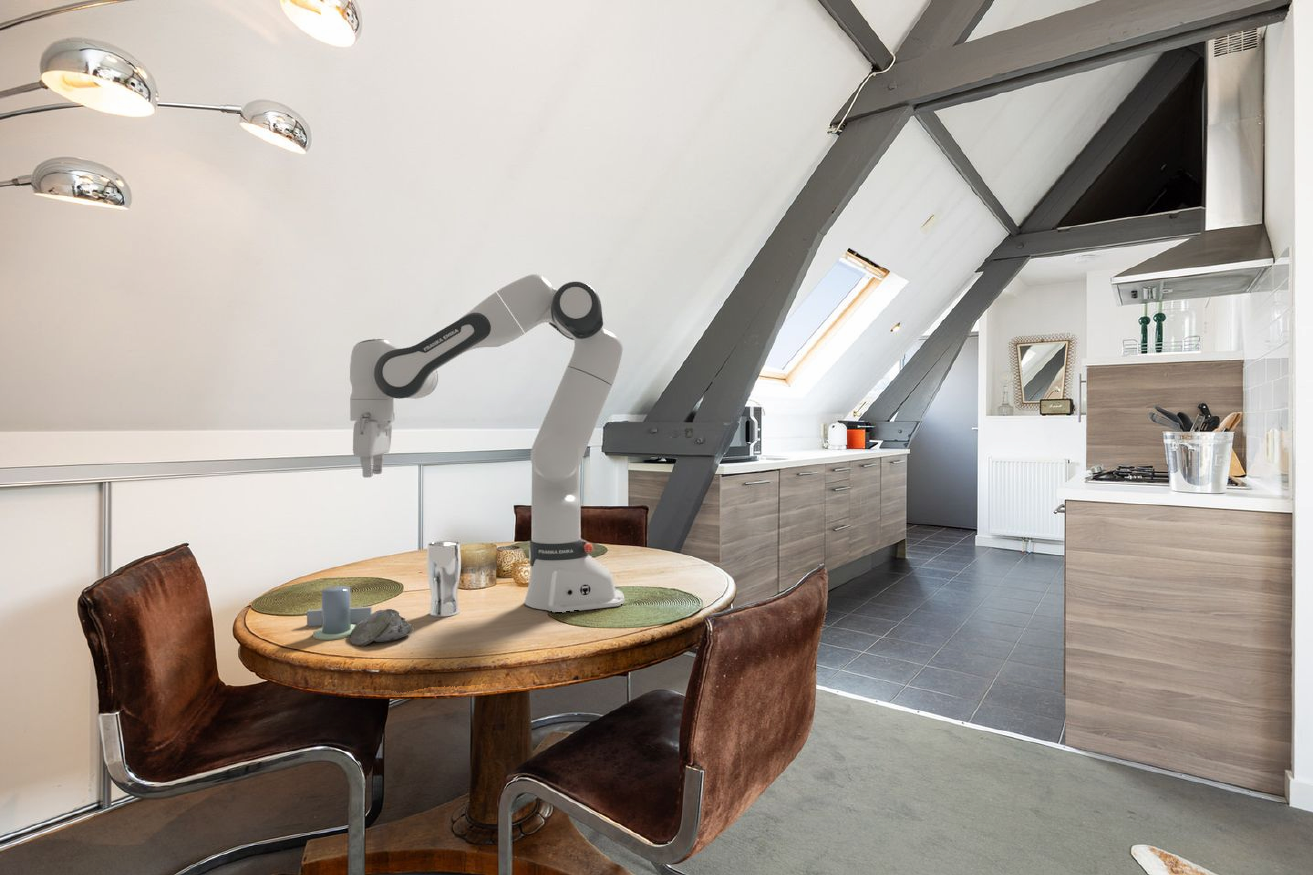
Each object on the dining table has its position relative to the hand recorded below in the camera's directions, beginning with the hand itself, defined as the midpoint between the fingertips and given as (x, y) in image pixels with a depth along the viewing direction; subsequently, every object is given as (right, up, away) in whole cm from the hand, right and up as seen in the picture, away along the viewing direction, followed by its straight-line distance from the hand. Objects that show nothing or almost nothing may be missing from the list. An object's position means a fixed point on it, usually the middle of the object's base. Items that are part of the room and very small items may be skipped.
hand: (372, 475), depth 147 cm
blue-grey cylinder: (+1, -29, -19) cm, 34 cm away
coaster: (+1, -30, -19) cm, 35 cm away
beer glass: (+17, -29, -5) cm, 35 cm away
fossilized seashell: (+11, -30, -21) cm, 38 cm away
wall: (-1, -29, -12) cm, 32 cm away
